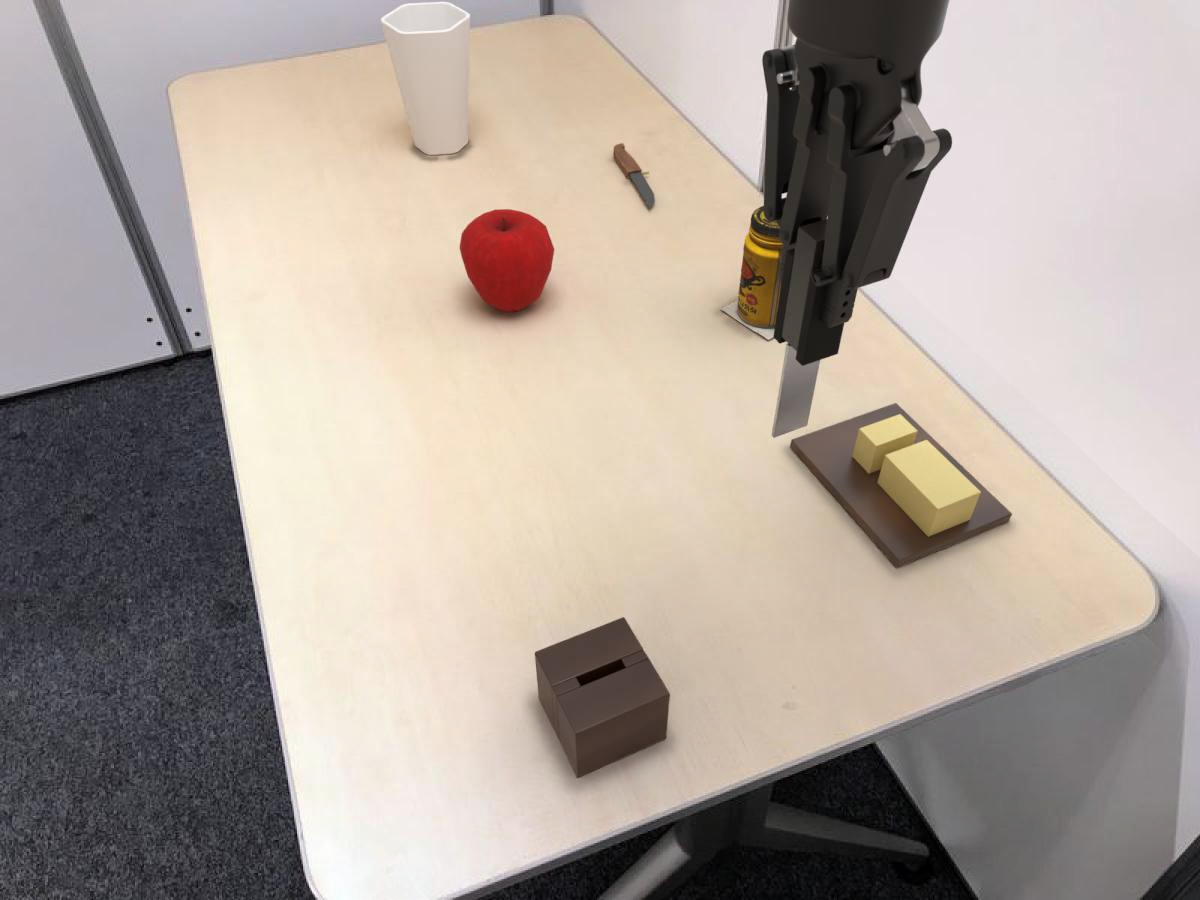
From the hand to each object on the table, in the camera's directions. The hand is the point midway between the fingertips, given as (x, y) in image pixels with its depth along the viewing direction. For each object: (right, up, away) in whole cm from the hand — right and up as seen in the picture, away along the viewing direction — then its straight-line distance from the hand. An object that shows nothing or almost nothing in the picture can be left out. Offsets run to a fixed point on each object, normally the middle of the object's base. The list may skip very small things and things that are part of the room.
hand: (805, 344), depth 62 cm
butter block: (+15, -11, +22) cm, 29 cm away
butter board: (+13, -10, +25) cm, 30 cm away
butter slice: (+12, -7, +26) cm, 30 cm away
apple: (-23, +10, +46) cm, 52 cm away
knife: (-8, +29, +65) cm, 71 cm away
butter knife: (0, -5, +5) cm, 7 cm away
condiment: (+6, +8, +44) cm, 45 cm away
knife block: (-13, -26, +8) cm, 30 cm away
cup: (-35, +36, +73) cm, 88 cm away
